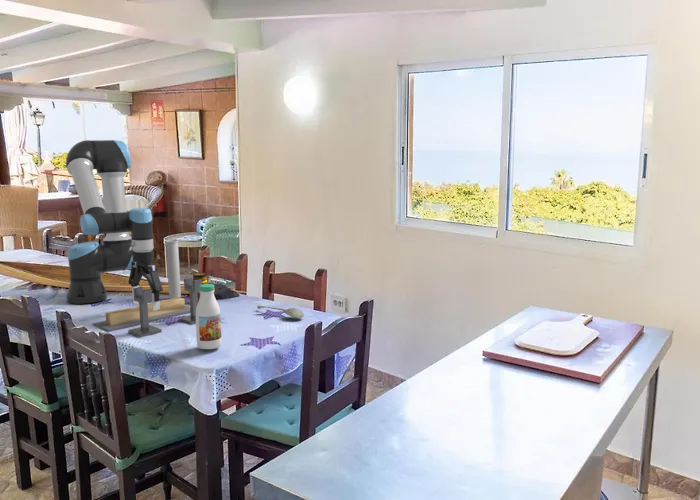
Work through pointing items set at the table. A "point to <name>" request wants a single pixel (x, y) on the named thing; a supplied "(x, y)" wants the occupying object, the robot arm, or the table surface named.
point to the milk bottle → (208, 319)
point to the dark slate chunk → (223, 292)
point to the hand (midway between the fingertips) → (146, 306)
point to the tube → (173, 268)
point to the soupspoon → (287, 311)
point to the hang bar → (134, 312)
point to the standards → (146, 297)
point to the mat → (137, 322)
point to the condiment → (199, 277)
